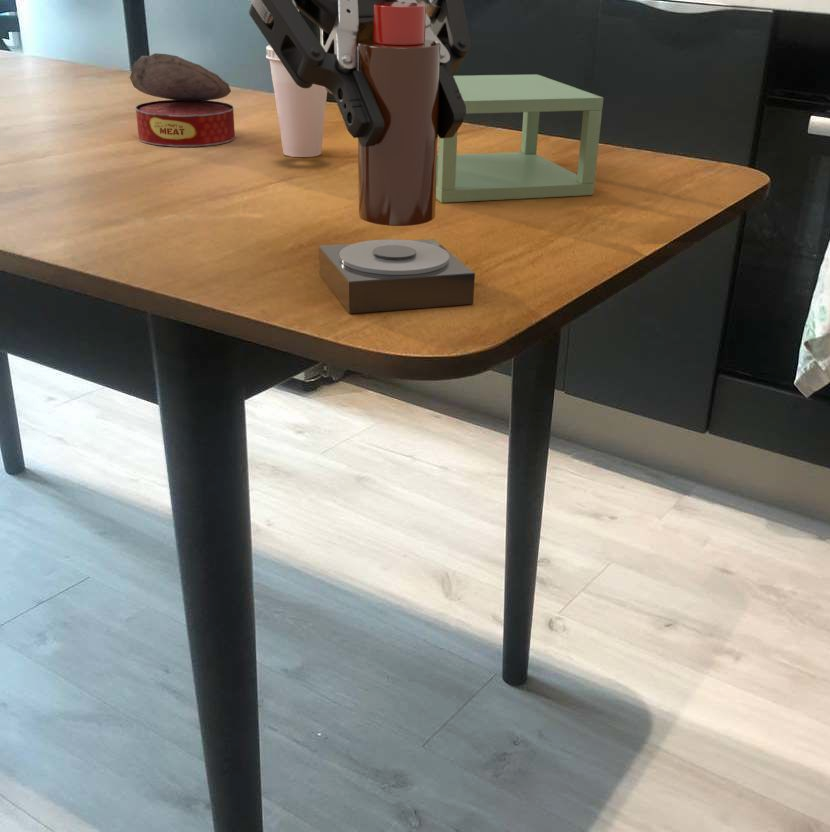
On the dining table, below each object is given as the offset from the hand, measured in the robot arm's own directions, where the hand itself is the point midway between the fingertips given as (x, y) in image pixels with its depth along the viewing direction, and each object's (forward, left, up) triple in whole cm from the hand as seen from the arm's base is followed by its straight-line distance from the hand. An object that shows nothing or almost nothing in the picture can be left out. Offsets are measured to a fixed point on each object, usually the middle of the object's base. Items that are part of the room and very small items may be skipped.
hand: (413, 133), depth 64 cm
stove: (-1, +2, -10) cm, 10 cm away
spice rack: (+17, +30, -10) cm, 36 cm away
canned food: (-7, +55, -10) cm, 57 cm away
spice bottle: (0, +2, -5) cm, 6 cm away
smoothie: (+3, +45, -10) cm, 46 cm away
